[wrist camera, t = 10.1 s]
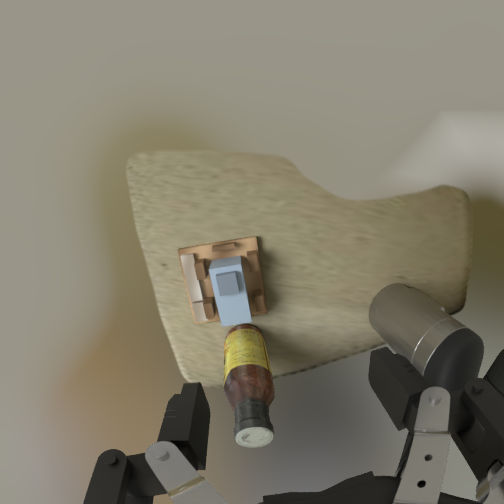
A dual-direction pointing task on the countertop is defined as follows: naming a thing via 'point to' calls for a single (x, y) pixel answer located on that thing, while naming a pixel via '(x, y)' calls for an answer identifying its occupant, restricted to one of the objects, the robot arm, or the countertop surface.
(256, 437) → the sauce bottle
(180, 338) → the countertop surface
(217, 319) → the jig
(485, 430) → the robot arm
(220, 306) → the light blue block
